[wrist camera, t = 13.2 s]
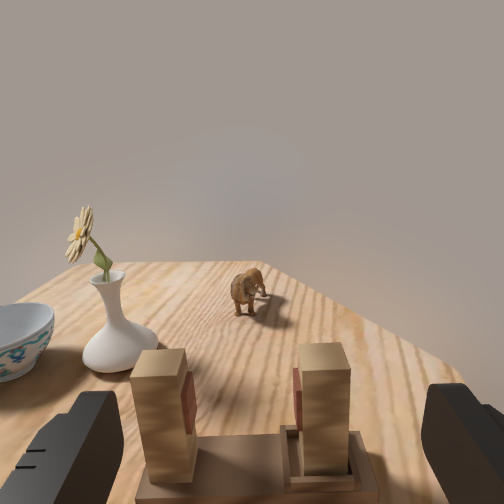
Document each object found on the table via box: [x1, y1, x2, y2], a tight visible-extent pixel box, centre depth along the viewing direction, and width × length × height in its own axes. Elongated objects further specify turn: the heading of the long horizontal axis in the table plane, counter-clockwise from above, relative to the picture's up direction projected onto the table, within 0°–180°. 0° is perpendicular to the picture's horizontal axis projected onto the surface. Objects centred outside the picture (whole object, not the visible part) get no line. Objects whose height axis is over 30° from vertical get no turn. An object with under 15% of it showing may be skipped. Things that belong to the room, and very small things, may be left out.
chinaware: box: [0, 302, 54, 382], centre depth 59 cm, size 15×15×8 cm
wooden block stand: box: [129, 348, 379, 504], centre depth 36 cm, size 22×7×14 cm, turn 89°
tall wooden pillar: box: [293, 342, 351, 477], centre depth 36 cm, size 4×4×12 cm
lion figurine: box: [231, 268, 266, 316], centre depth 73 cm, size 15×5×9 cm, turn 172°
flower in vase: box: [65, 206, 158, 373], centre depth 56 cm, size 13×11×25 cm
